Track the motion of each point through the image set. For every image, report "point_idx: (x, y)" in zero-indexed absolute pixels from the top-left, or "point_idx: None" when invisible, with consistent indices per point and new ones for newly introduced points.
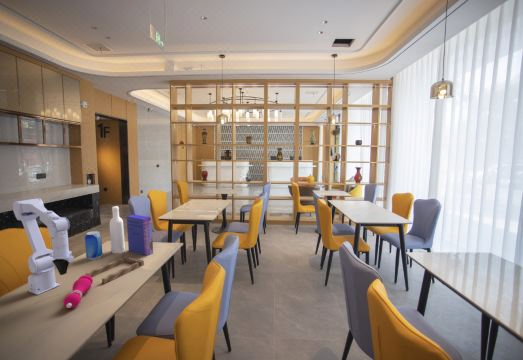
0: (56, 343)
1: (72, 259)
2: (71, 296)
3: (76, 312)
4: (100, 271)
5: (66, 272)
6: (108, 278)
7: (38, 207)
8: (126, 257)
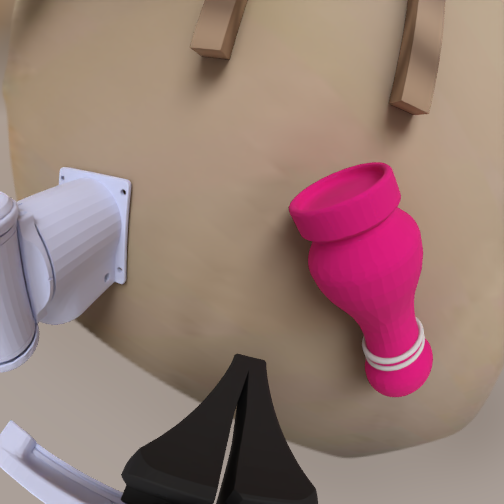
0: (430, 429)
1: None
2: (412, 392)
3: None
4: None
5: (265, 365)
6: (430, 86)
7: None
8: None
